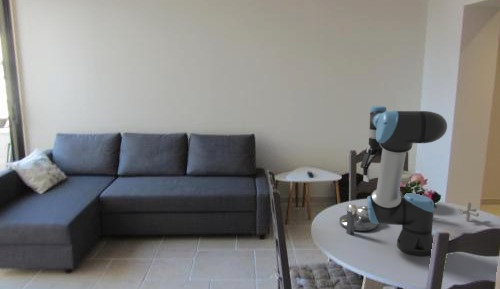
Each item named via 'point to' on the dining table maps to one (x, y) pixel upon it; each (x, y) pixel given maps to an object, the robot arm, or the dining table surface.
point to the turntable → (357, 223)
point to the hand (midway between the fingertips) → (374, 179)
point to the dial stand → (350, 219)
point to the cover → (363, 213)
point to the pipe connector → (468, 211)
